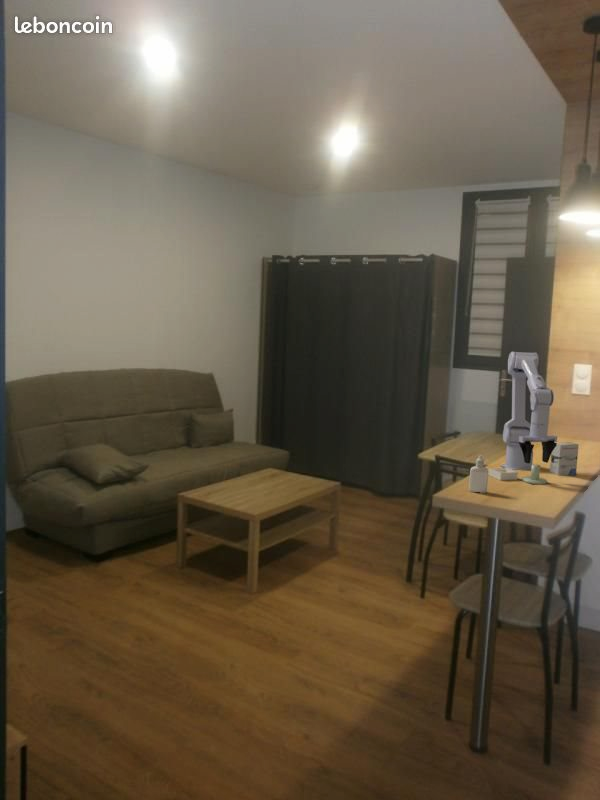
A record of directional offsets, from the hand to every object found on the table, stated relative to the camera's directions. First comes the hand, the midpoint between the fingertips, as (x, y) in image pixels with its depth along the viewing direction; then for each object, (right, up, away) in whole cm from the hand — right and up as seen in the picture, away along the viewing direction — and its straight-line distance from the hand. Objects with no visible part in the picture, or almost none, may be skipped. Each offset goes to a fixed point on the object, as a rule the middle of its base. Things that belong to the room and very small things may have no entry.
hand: (536, 462), depth 229 cm
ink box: (+15, -6, +15) cm, 23 cm away
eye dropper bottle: (-24, -8, -14) cm, 29 cm away
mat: (0, -7, +1) cm, 7 cm away
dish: (-10, -6, +5) cm, 13 cm away
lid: (0, -7, +1) cm, 7 cm away
